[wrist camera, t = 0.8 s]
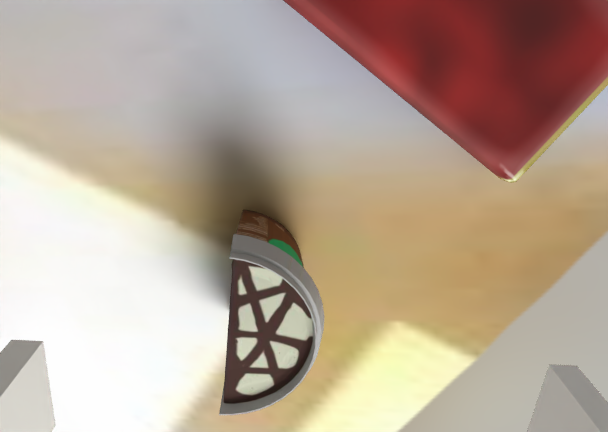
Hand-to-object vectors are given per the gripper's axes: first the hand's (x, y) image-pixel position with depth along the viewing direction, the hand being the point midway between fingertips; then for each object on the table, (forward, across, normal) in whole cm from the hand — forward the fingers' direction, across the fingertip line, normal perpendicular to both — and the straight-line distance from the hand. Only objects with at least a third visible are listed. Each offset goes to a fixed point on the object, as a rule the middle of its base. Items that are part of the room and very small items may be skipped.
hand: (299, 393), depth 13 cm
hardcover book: (+25, +9, +11) cm, 29 cm away
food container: (+24, 0, -9) cm, 26 cm away
